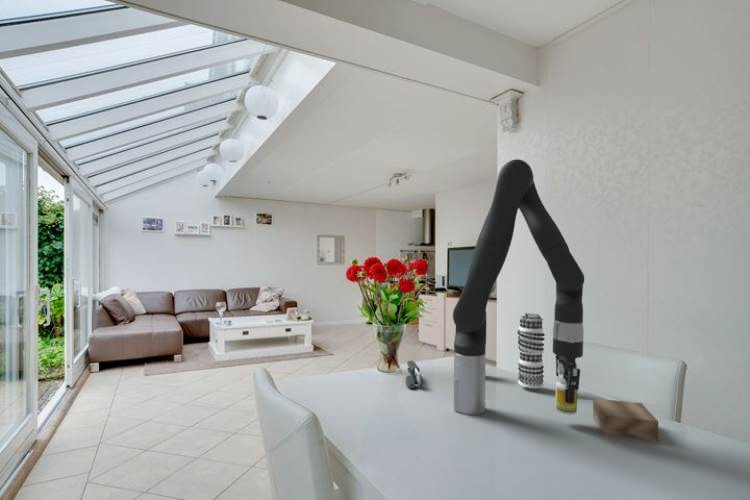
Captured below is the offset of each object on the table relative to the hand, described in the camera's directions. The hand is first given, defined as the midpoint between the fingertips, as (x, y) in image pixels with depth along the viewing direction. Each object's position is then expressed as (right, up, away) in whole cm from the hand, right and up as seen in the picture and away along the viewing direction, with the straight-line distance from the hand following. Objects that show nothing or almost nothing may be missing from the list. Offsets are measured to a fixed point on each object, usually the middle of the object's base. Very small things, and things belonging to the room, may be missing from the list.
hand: (566, 398), depth 109 cm
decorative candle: (+3, -7, +33) cm, 34 cm away
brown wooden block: (+14, -8, -2) cm, 16 cm away
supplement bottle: (0, -4, 0) cm, 4 cm away
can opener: (-39, -8, +38) cm, 55 cm away
